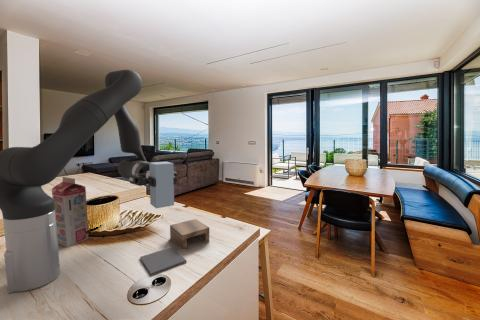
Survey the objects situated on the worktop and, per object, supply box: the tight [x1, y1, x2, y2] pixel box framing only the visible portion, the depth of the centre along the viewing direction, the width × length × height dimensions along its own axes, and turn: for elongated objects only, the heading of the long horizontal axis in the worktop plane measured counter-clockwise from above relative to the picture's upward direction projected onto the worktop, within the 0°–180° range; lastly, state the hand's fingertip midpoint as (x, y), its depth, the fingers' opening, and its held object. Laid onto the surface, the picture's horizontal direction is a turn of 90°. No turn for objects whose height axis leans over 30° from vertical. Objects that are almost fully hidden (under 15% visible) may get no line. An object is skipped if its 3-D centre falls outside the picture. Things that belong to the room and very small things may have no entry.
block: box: [149, 161, 175, 209], centre depth 62 cm, size 5×5×12 cm
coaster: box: [139, 246, 187, 276], centre depth 65 cm, size 10×10×1 cm
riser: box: [169, 218, 210, 251], centre depth 77 cm, size 10×10×5 cm
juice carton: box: [51, 176, 89, 248], centre depth 75 cm, size 7×7×22 cm
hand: (165, 181), depth 60 cm, fingers closed on block, 5 cm apart
